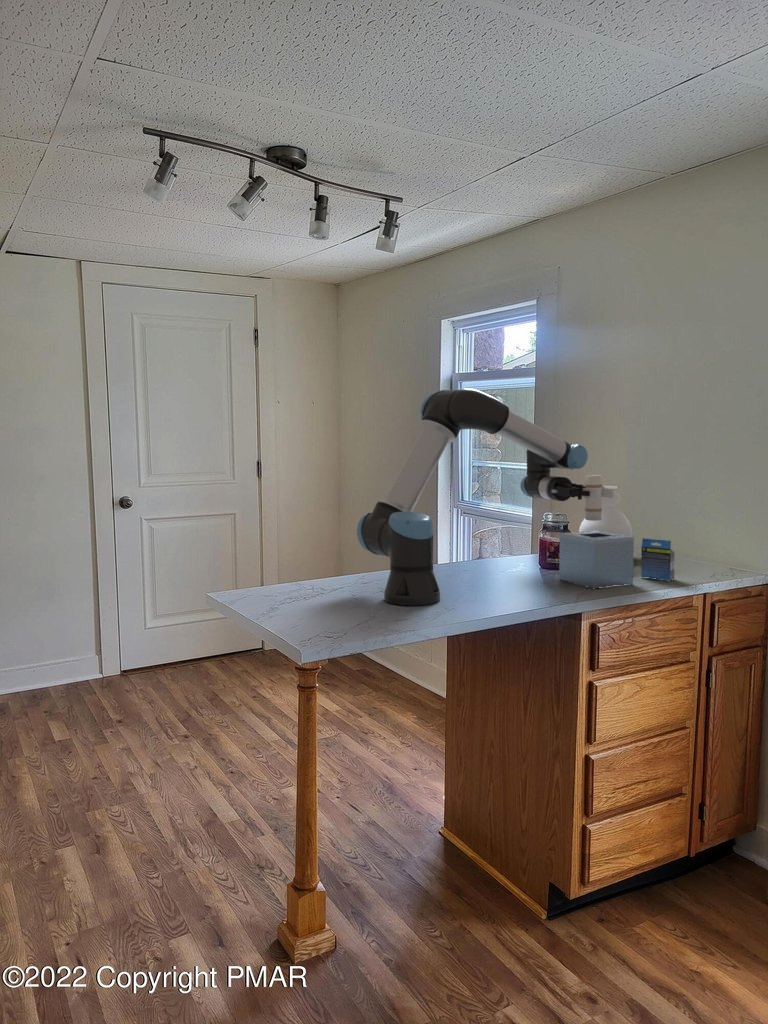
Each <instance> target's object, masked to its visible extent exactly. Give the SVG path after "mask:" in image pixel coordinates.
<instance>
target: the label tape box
mask: <svg viewBox="0 0 768 1024" xmlns="http://www.w3.org/2000/svg"><path fill="white" fill-rule="evenodd" d="M641 540H642V541H641V564H640V565H641V566H640V567H641V568H640V569H641V571H640V573H641V574H640V576H641V577H649V578H656V579H663V580H670V581H669V582H672V581H673V580H672V579H674V580H675V555H676V554H675V551H673V550H672V549H671V546H672V541H671V540H665V539H656V538H655V539H654V538H645V537H644V538H641ZM656 543H657V544H660V545H656ZM663 580H662V581H663ZM671 580H672V581H671Z"/></svg>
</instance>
